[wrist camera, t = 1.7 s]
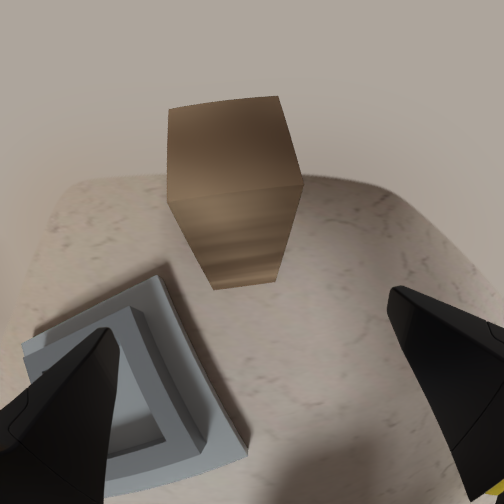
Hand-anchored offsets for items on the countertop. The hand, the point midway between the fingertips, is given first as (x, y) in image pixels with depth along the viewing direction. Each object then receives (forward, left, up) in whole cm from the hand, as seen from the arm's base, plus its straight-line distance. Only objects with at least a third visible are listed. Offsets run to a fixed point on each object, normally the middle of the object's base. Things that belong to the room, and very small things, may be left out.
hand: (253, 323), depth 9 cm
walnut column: (+6, -2, -12) cm, 14 cm away
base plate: (0, +11, -12) cm, 16 cm away
